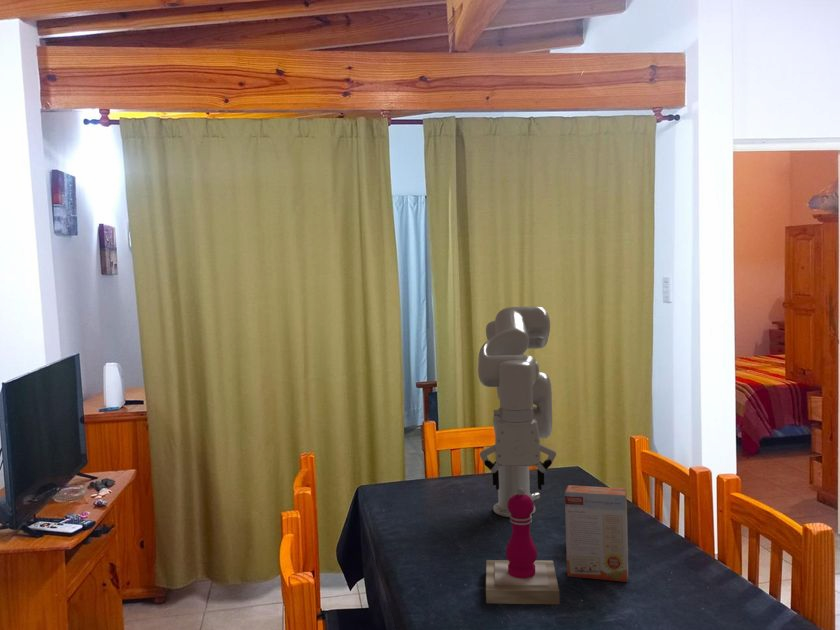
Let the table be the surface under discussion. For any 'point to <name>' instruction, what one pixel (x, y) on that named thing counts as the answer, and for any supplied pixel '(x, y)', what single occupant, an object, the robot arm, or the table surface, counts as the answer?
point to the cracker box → (596, 532)
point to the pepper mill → (521, 537)
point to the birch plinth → (521, 584)
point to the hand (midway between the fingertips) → (518, 487)
